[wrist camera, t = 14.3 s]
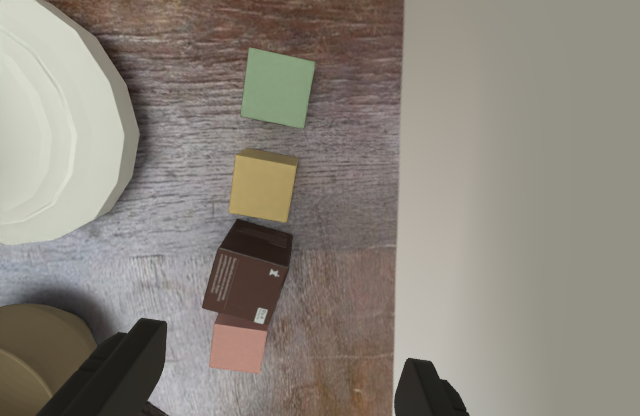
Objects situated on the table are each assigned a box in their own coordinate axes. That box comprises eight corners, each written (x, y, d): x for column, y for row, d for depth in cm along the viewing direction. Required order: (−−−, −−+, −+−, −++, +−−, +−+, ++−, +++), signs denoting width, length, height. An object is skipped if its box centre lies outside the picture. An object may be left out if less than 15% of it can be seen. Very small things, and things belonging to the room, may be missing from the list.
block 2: (298, 157, 32) (297, 166, 27) (289, 206, 33) (286, 223, 28) (246, 147, 31) (235, 154, 27) (239, 197, 33) (228, 213, 28)
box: (237, 216, 33) (217, 245, 26) (294, 234, 34) (290, 267, 27) (221, 268, 35) (199, 309, 28) (276, 284, 36) (268, 328, 29)
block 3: (272, 302, 36) (267, 331, 31) (266, 340, 38) (259, 374, 33) (226, 295, 36) (214, 323, 31) (221, 334, 37) (208, 367, 32)
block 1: (314, 69, 30) (315, 61, 25) (304, 126, 31) (303, 129, 26) (258, 57, 29) (248, 47, 24) (250, 115, 31) (240, 116, 26)
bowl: (-17, 287, 35) (-142, 355, 25) (103, 270, 34) (24, 332, 25) (29, 384, 38) (-65, 476, 29) (138, 369, 38) (80, 456, 28)
